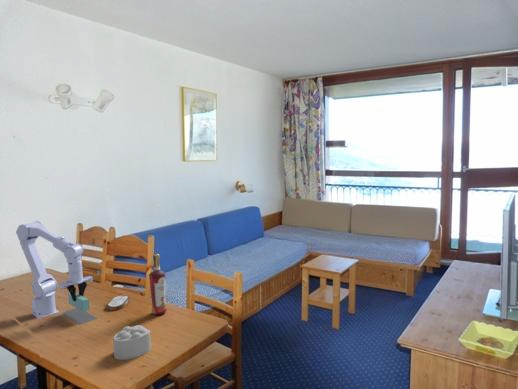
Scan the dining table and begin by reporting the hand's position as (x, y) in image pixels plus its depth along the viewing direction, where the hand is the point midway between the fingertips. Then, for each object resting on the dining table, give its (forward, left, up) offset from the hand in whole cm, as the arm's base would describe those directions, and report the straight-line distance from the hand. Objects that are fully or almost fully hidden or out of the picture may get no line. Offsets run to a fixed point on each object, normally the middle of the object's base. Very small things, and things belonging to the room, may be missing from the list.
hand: (77, 299), depth 178 cm
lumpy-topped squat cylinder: (-1, -48, -8) cm, 49 cm away
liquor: (+26, -26, -8) cm, 38 cm away
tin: (+15, +1, -7) cm, 17 cm away
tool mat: (0, 0, -8) cm, 8 cm away
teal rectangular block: (0, -1, -3) cm, 3 cm away
